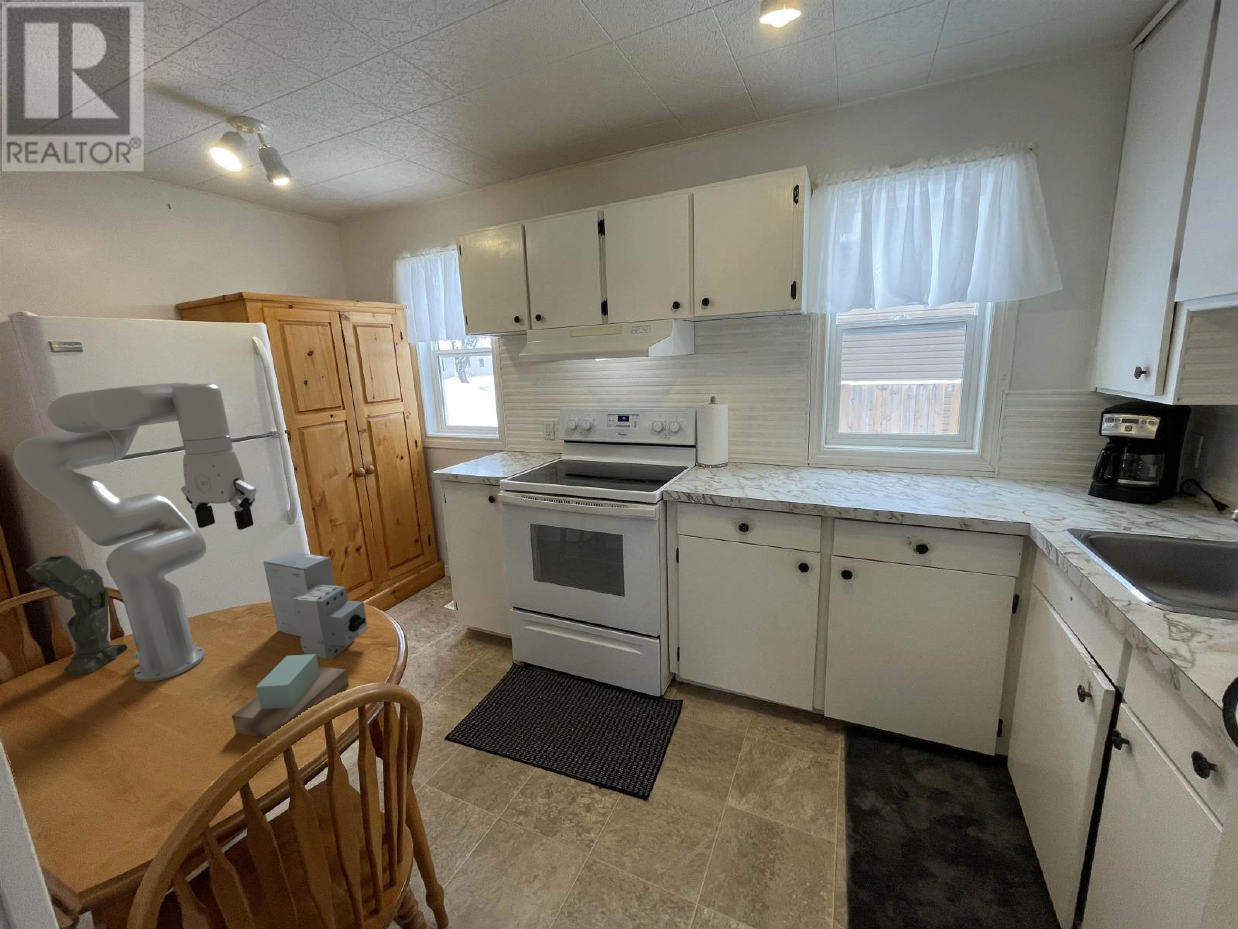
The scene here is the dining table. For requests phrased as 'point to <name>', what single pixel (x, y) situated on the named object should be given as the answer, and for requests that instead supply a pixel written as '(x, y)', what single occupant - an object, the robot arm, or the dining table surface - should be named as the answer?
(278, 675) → the light teal rectangular block
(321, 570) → the grey switch module
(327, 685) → the stand
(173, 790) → the dining table surface
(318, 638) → the circuit breaker
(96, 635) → the mechanical leg
